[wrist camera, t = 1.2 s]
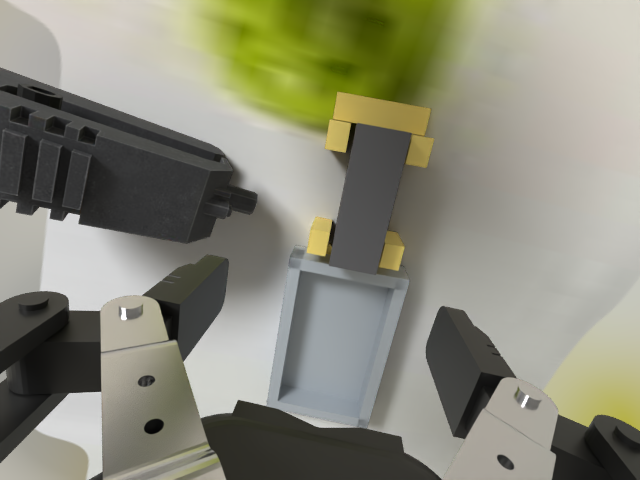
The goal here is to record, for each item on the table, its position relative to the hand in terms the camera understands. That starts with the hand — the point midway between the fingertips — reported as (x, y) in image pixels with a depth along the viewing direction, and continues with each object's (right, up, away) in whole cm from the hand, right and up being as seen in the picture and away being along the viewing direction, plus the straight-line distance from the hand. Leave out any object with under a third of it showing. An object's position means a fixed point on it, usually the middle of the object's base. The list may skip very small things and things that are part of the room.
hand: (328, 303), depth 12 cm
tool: (-15, +10, +16) cm, 24 cm away
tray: (+1, -7, +20) cm, 21 cm away
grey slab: (+3, +7, +16) cm, 17 cm away
